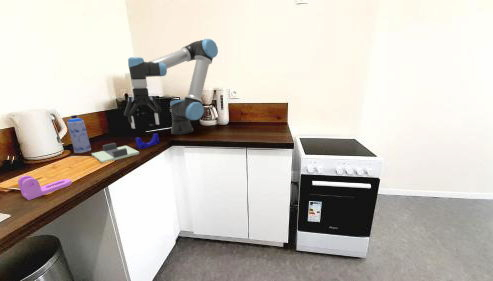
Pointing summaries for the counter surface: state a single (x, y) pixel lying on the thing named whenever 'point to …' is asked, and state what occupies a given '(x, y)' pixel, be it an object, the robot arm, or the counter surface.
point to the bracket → (33, 189)
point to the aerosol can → (78, 135)
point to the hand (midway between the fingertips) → (145, 126)
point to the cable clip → (144, 145)
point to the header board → (106, 158)
